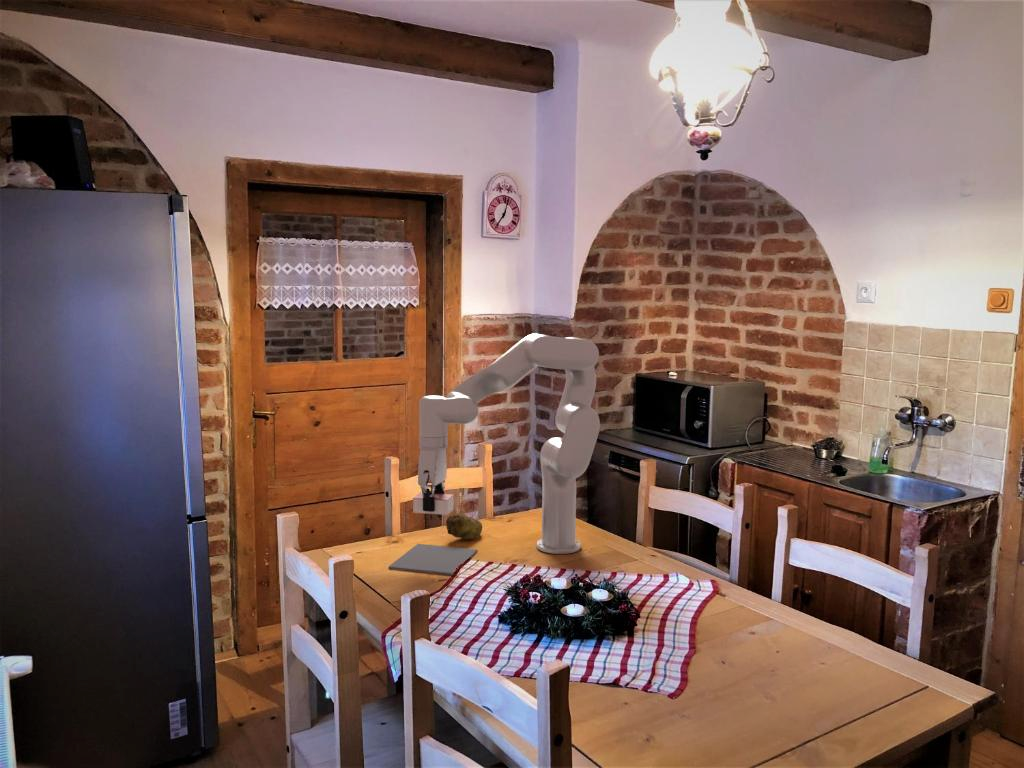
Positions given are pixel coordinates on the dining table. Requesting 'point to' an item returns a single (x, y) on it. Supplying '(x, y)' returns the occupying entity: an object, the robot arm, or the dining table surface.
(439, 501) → the card box
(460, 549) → the mat
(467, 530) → the olive green lumpy rock
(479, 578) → the dining table surface
